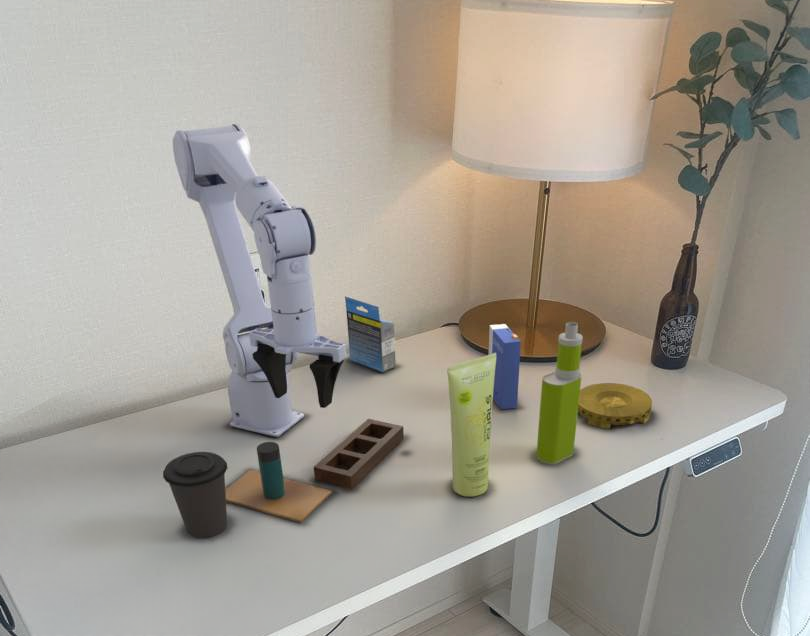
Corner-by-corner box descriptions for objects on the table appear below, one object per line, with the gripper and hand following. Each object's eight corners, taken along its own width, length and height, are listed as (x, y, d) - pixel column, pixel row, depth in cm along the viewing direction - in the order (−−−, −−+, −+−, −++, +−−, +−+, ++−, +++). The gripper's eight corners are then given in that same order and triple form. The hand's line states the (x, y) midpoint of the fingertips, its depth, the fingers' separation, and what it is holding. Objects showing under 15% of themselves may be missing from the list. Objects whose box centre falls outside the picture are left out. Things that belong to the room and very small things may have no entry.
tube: (482, 502, 110) (486, 370, 99) (446, 497, 111) (447, 366, 100) (491, 481, 114) (496, 352, 103) (456, 476, 116) (458, 348, 104)
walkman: (517, 407, 133) (521, 338, 126) (501, 410, 132) (504, 340, 125) (502, 387, 139) (505, 321, 132) (486, 389, 139) (489, 322, 132)
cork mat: (217, 498, 113) (216, 496, 112) (250, 471, 118) (250, 469, 118) (301, 522, 107) (300, 520, 107) (332, 493, 113) (331, 490, 113)
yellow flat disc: (663, 423, 127) (665, 410, 126) (593, 433, 125) (594, 421, 124) (628, 391, 137) (630, 379, 135) (563, 400, 134) (564, 388, 133)
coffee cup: (208, 551, 103) (194, 485, 97) (163, 533, 106) (146, 468, 100) (250, 519, 108) (239, 455, 102) (206, 503, 112) (193, 440, 106)
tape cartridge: (397, 366, 147) (394, 301, 140) (382, 373, 145) (379, 307, 138) (363, 354, 152) (359, 290, 145) (348, 360, 150) (343, 296, 143)
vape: (578, 452, 120) (592, 324, 109) (550, 466, 117) (562, 335, 106) (559, 443, 123) (571, 316, 111) (532, 456, 120) (541, 327, 108)
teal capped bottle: (259, 496, 112) (252, 449, 108) (271, 486, 114) (264, 439, 110) (277, 501, 111) (270, 454, 107) (289, 490, 113) (283, 444, 109)
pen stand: (314, 480, 116) (313, 467, 115) (369, 430, 128) (368, 418, 126) (351, 489, 114) (350, 476, 112) (403, 438, 125) (403, 426, 124)
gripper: (230, 309, 106) (245, 402, 114) (322, 324, 101) (331, 421, 108) (261, 292, 111) (273, 382, 119) (351, 306, 106) (358, 400, 113)
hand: (303, 400), depth 114 cm, fingers open, 7 cm apart
